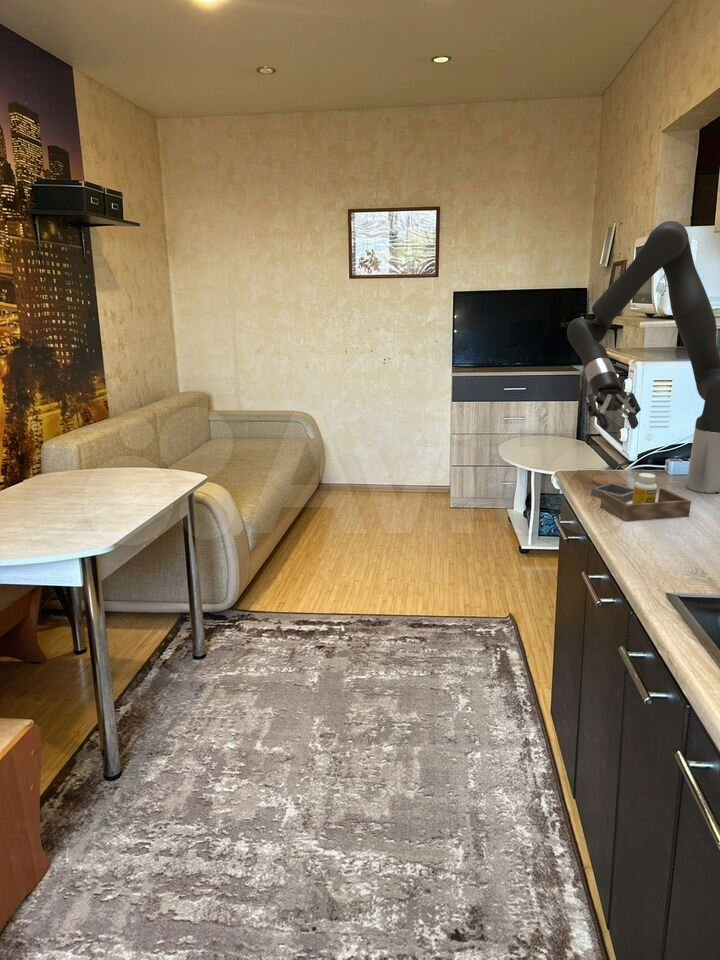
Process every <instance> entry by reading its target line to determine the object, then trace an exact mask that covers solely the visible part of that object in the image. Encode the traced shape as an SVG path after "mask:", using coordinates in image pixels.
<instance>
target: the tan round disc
mask: <svg viewBox="0 0 720 960" xmlns="http://www.w3.org/2000/svg"><path fill="white" fill-rule="evenodd" d="M627 482H628V481H627V479H625V478H622V477H619V476H613V475H597V476H594V477H593V483H594V484H595V485H597V486H601V485H605V484H608V483H613V484H617V485H621V486H625V487H627V484H628V483H627Z"/></svg>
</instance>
